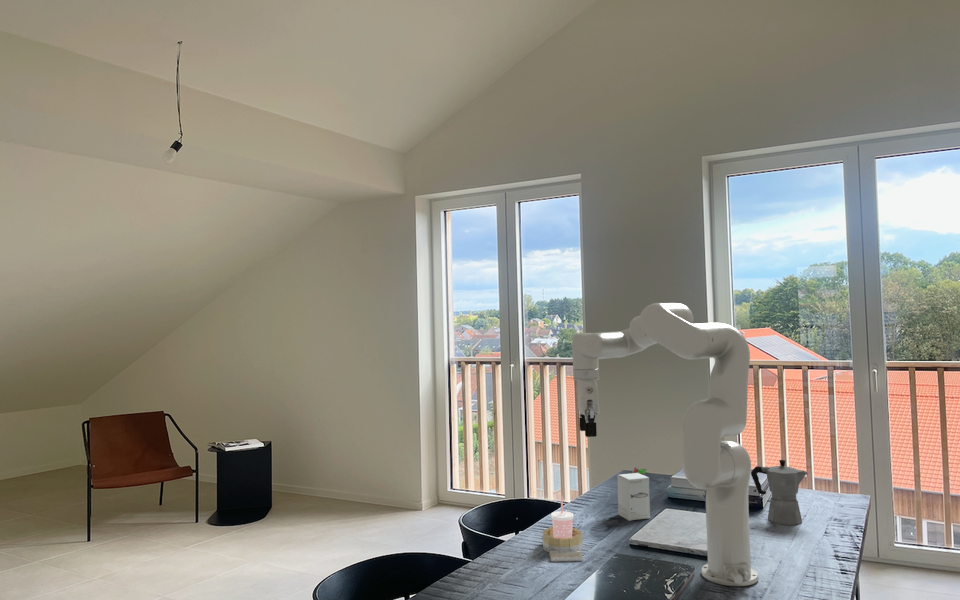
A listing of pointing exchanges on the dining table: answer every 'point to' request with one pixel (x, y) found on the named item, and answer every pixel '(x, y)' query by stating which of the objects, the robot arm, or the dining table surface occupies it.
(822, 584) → the dining table surface
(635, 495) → the supplement box
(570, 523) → the beverage cup
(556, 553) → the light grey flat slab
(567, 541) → the yellow faceted ring
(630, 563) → the dining table surface
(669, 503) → the dining table surface
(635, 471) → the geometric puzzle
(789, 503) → the coffeepot
